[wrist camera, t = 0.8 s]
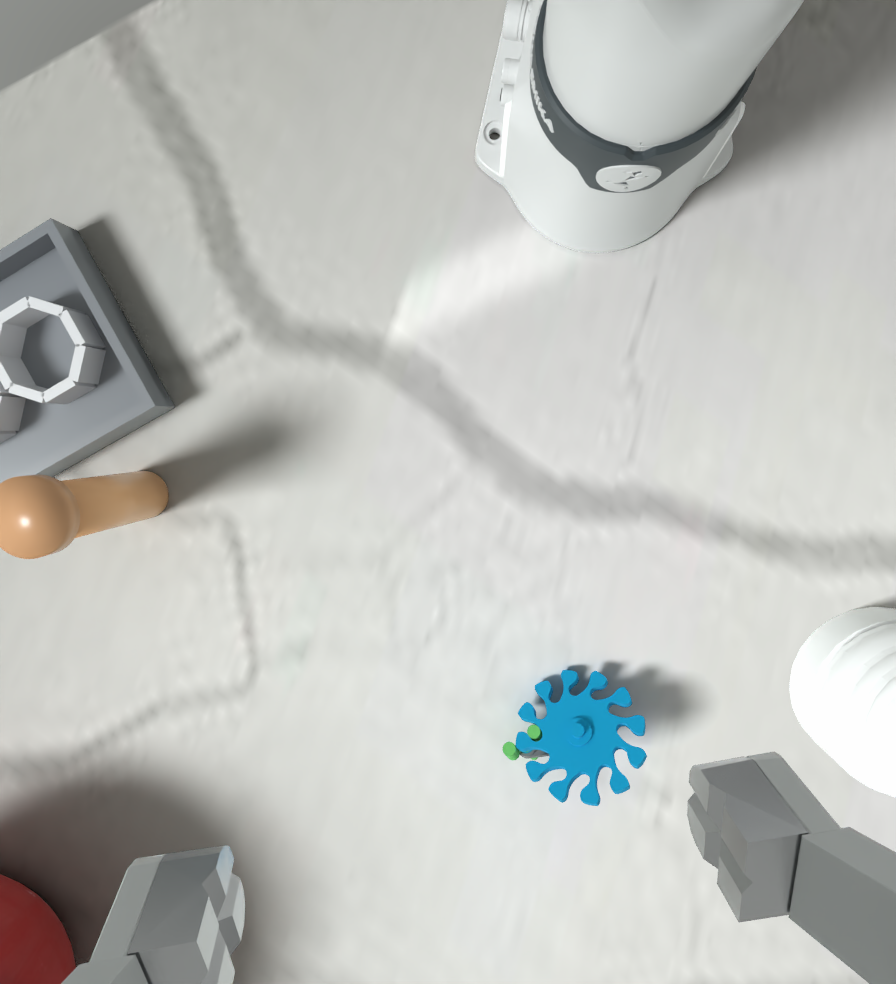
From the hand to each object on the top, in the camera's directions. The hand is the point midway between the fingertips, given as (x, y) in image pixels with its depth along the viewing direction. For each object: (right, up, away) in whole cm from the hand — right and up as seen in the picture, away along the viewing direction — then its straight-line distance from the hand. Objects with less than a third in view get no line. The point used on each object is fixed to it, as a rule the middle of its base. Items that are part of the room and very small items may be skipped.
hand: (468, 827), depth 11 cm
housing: (-35, +15, +40) cm, 56 cm away
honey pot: (+34, -10, +38) cm, 52 cm away
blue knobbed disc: (+10, -13, +40) cm, 43 cm away
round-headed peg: (-26, +6, +41) cm, 48 cm away
